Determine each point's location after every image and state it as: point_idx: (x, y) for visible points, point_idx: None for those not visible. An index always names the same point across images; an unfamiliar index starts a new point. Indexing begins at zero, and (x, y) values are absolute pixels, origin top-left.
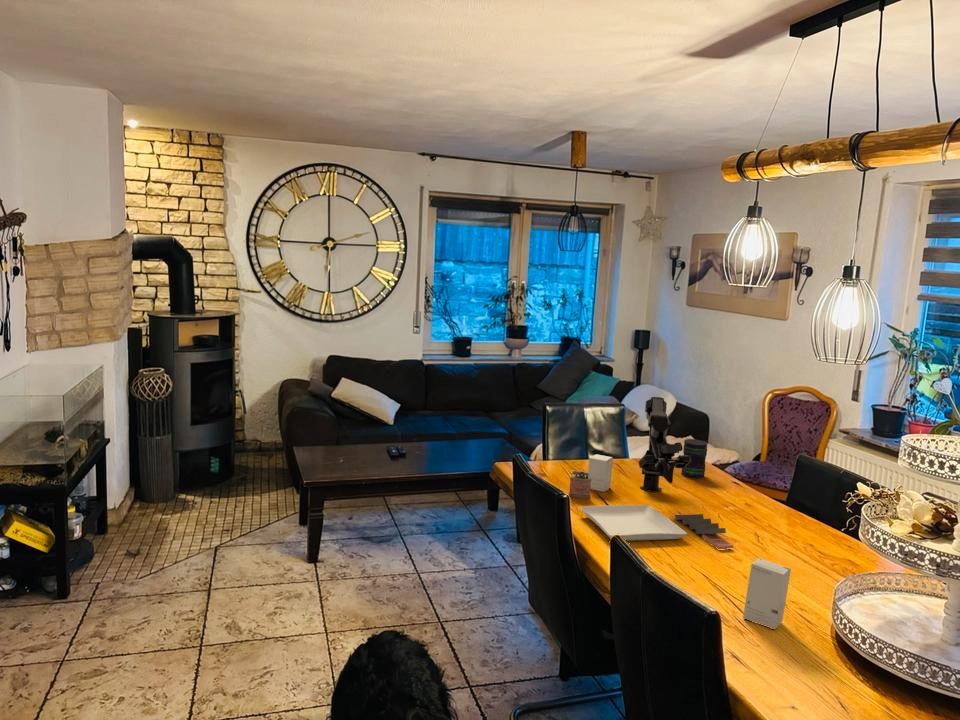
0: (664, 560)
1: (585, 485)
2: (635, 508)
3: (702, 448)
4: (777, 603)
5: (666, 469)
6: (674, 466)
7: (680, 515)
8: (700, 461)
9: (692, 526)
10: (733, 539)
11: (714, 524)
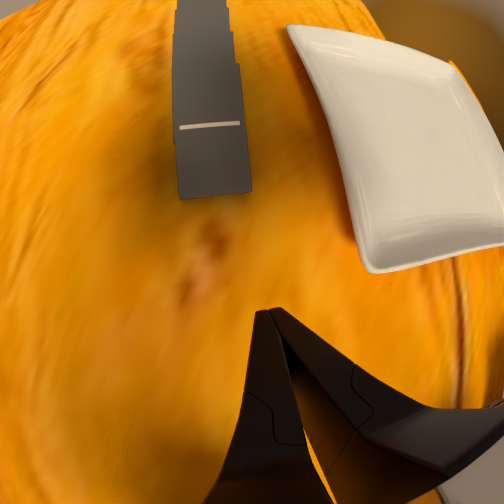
0: (352, 10)
1: None
2: (418, 251)
3: None
4: None
5: (376, 402)
6: (213, 490)
7: (246, 139)
8: None
9: None
10: (126, 51)
11: (190, 10)
